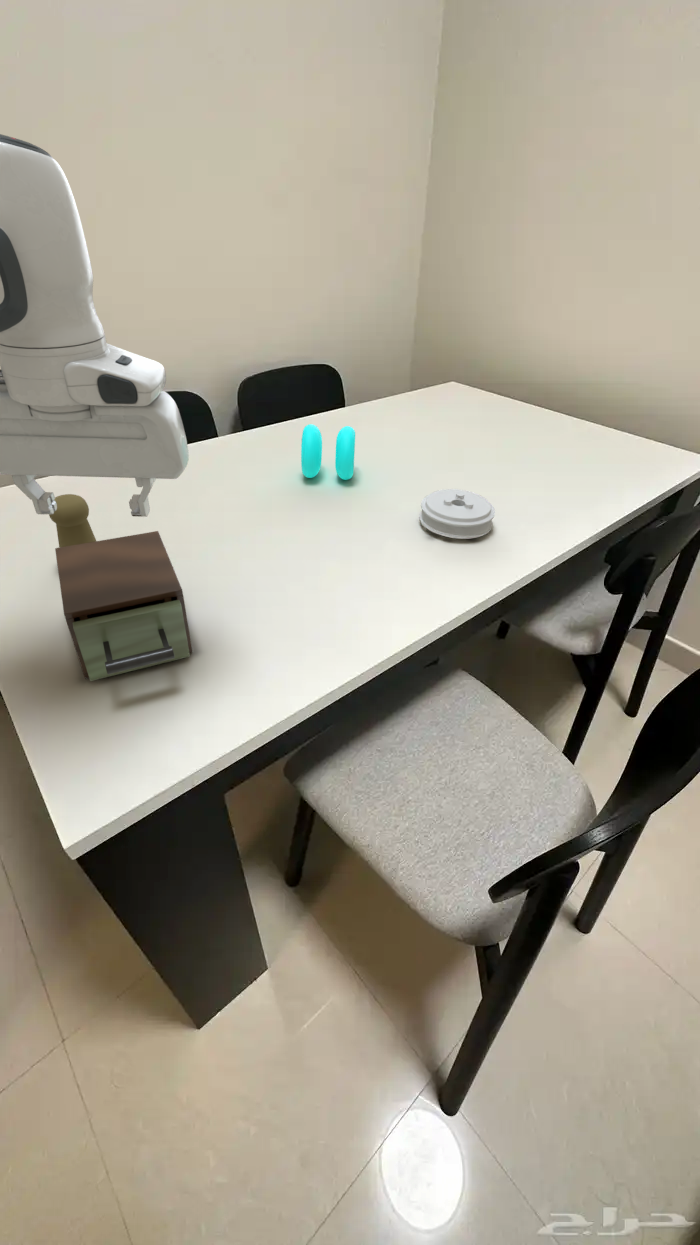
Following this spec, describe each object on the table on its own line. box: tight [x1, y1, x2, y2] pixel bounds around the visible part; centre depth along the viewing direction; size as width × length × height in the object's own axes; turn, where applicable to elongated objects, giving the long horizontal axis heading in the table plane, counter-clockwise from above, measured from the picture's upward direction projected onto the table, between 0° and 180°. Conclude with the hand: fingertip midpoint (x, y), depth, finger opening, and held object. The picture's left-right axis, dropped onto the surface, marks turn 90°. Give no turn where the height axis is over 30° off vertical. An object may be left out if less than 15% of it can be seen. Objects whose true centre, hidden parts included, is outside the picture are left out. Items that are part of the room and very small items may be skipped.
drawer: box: [73, 598, 191, 682], centre depth 69 cm, size 18×11×8 cm, turn 25°
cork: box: [48, 493, 97, 548], centre depth 83 cm, size 6×6×11 cm
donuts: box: [300, 423, 356, 481], centre depth 112 cm, size 10×10×10 cm
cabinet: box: [54, 530, 193, 680], centre depth 73 cm, size 15×13×10 cm
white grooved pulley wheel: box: [419, 488, 496, 540], centre depth 100 cm, size 13×13×5 cm
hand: (94, 513), depth 60 cm, fingers open, 8 cm apart
